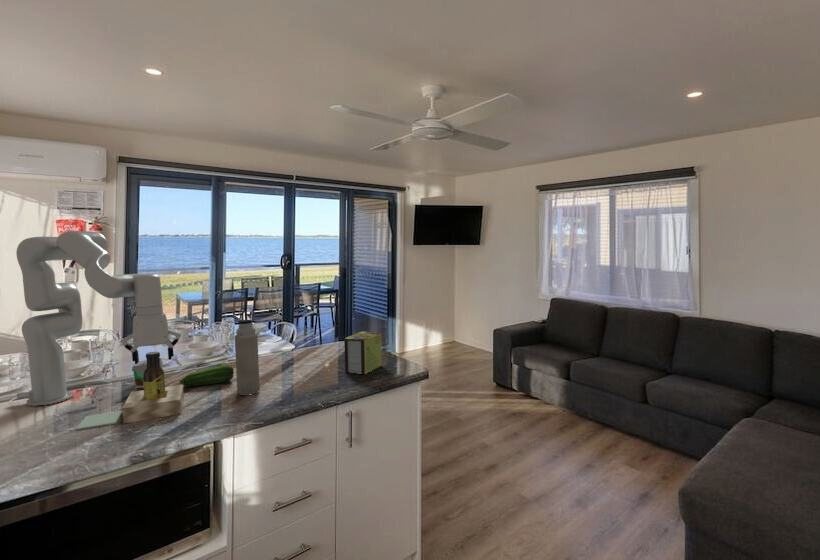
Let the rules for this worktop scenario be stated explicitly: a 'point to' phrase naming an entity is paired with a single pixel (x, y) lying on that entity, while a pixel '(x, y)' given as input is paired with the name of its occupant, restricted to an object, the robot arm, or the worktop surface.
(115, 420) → the pad
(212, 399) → the worktop surface
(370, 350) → the protein box
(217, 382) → the vegetable
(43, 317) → the robot arm
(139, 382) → the food container
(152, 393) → the sauce bottle
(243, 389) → the thermos bottle
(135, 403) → the socket block
